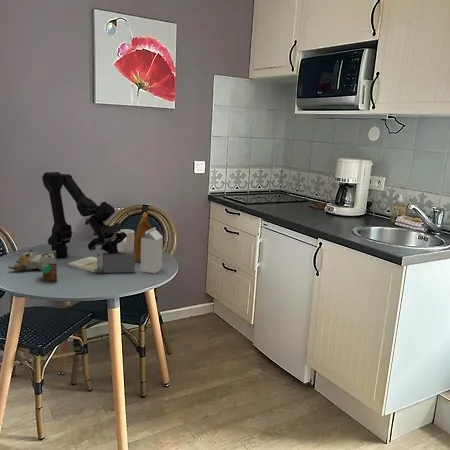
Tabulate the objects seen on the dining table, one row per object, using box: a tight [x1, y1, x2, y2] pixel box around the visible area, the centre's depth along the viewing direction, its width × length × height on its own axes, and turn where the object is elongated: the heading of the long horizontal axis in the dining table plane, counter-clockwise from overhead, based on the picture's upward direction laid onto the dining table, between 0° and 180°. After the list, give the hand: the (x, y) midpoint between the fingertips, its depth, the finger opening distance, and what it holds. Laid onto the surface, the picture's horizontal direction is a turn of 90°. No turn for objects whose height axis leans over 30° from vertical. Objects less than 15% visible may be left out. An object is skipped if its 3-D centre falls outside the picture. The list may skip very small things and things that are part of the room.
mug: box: [116, 228, 135, 253], centre depth 226 cm, size 12×8×10 cm
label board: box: [68, 256, 97, 273], centre depth 203 cm, size 15×13×2 cm
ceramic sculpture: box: [8, 249, 43, 271], centre depth 193 cm, size 11×9×15 cm
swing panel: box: [96, 252, 136, 274], centre depth 194 cm, size 15×3×8 cm, turn 104°
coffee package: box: [132, 211, 153, 263], centre depth 215 cm, size 10×12×22 cm
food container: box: [40, 250, 58, 283], centre depth 182 cm, size 12×6×10 cm, turn 21°
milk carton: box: [139, 226, 164, 274], centre depth 199 cm, size 7×7×19 cm
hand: (117, 257), depth 196 cm, fingers closed
